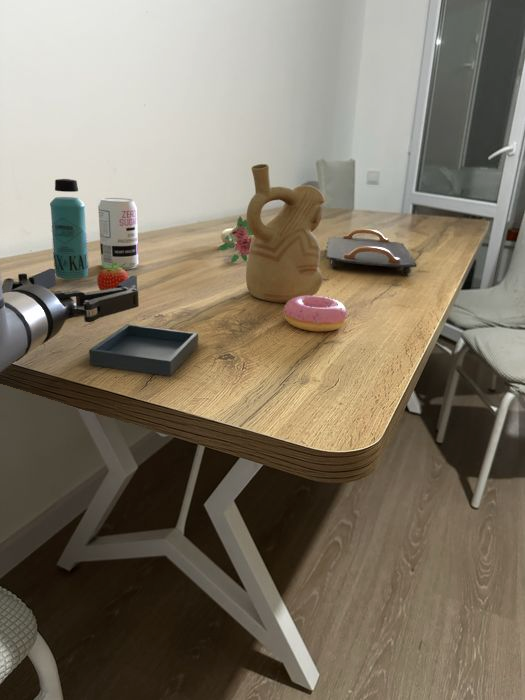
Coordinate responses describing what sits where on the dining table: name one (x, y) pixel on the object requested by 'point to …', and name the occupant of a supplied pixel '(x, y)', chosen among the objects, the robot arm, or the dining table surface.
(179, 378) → the dining table surface
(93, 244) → the dining table surface
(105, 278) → the fruit
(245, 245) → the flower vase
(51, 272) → the robot arm
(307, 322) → the doughnut
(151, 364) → the dark gray square tray
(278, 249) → the ceramic vessel
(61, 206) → the beverage bottle
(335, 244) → the serving tray
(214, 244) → the dining table surface
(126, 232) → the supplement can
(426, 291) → the dining table surface
